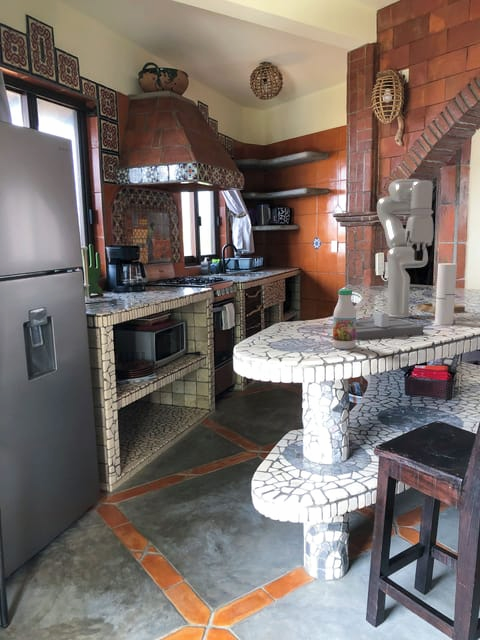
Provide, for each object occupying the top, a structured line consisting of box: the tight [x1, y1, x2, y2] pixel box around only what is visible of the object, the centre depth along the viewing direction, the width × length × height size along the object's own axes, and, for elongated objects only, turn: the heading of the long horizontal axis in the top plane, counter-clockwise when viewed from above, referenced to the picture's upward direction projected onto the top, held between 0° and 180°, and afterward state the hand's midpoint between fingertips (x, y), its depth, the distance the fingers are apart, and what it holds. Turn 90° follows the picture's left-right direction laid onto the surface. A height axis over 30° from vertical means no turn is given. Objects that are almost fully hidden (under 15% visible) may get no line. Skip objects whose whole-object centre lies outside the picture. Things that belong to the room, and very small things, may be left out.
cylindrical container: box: [434, 262, 458, 326], centre depth 195 cm, size 7×7×25 cm
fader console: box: [356, 317, 424, 341], centre depth 183 cm, size 19×28×3 cm
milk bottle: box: [332, 288, 357, 350], centre depth 159 cm, size 8×8×20 cm
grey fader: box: [373, 310, 390, 327], centre depth 177 cm, size 5×3×5 cm, turn 14°
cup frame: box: [417, 302, 466, 314], centre depth 227 cm, size 15×15×2 cm
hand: (418, 260), depth 185 cm, fingers closed
